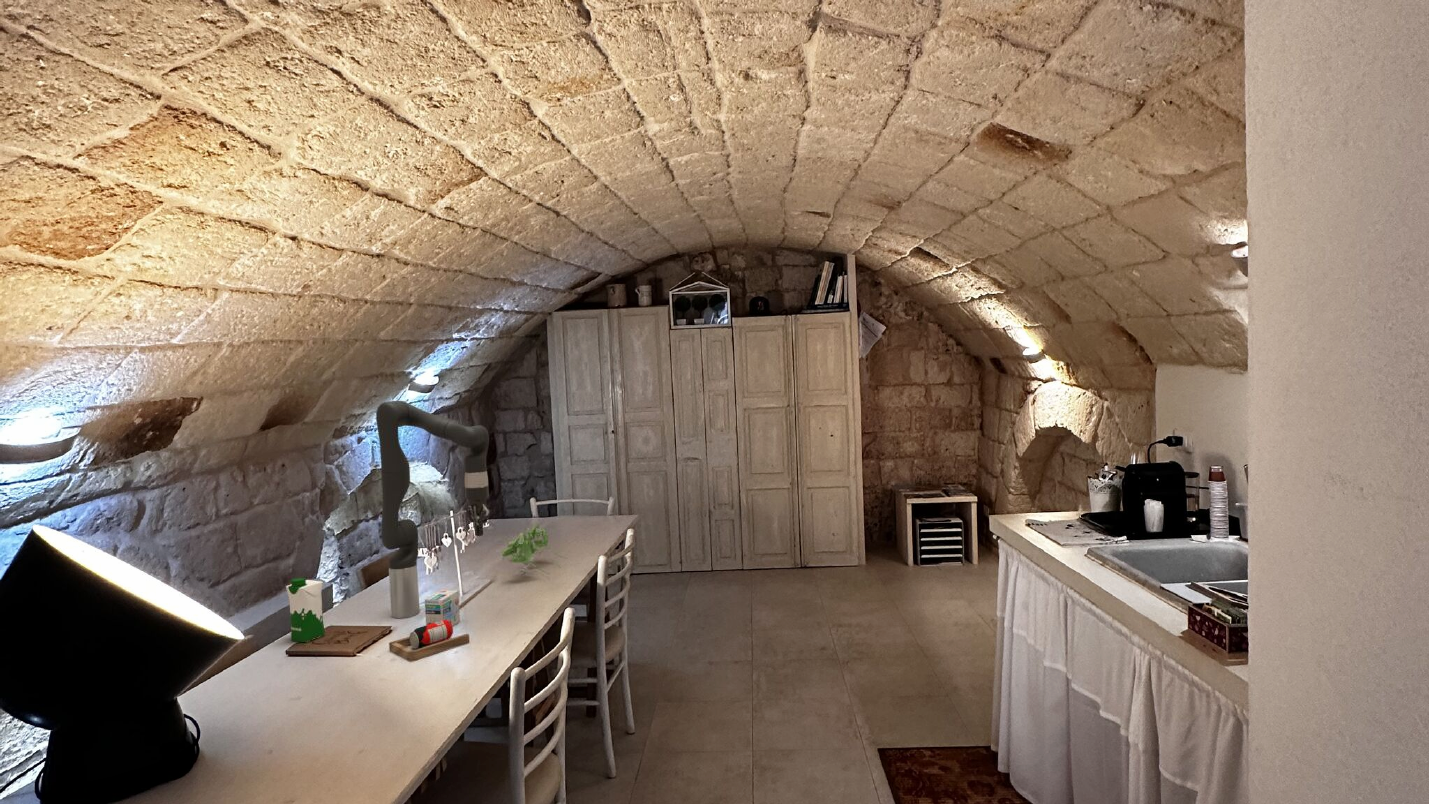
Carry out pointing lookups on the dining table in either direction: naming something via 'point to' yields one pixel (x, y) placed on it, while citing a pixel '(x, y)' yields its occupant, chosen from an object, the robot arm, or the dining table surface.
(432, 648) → the frame
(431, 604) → the light bulb box
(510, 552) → the plant cuttings
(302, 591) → the milk carton
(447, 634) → the beverage can
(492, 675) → the dining table surface
